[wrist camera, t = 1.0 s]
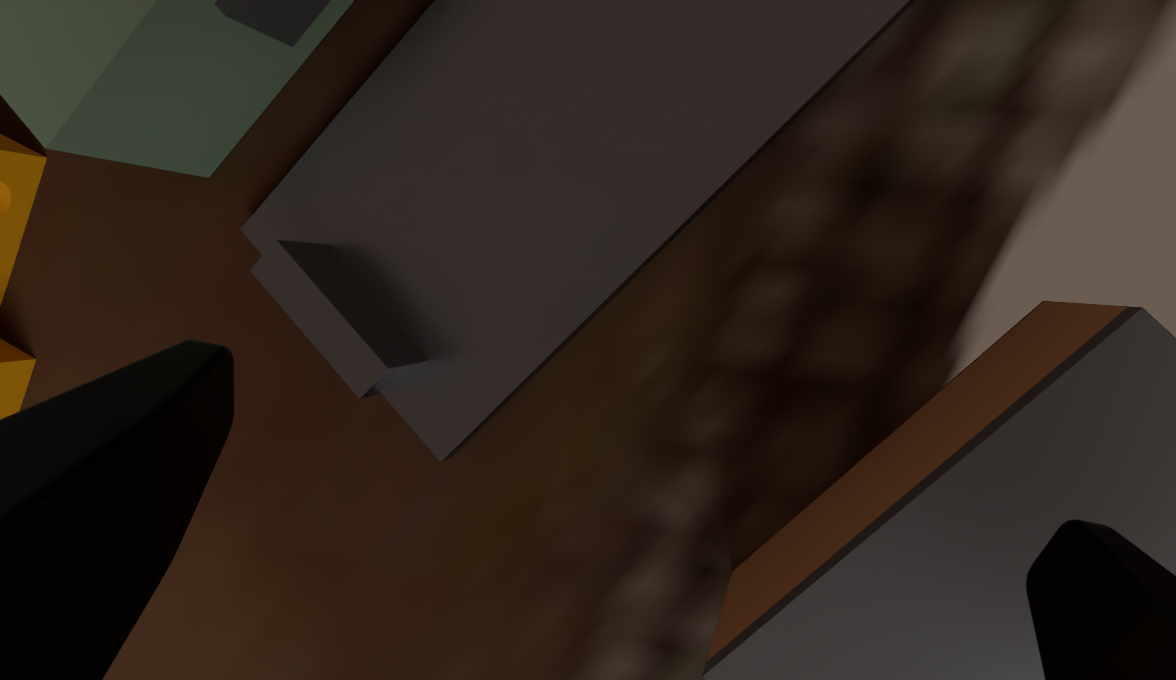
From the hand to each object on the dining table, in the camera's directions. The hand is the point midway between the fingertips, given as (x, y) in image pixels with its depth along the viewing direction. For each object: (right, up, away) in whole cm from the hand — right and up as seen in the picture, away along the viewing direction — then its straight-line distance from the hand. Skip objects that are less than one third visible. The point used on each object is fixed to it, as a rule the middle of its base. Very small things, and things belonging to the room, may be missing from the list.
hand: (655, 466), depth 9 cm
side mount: (-1, +7, +11) cm, 13 cm away
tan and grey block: (+8, -3, +10) cm, 12 cm away
